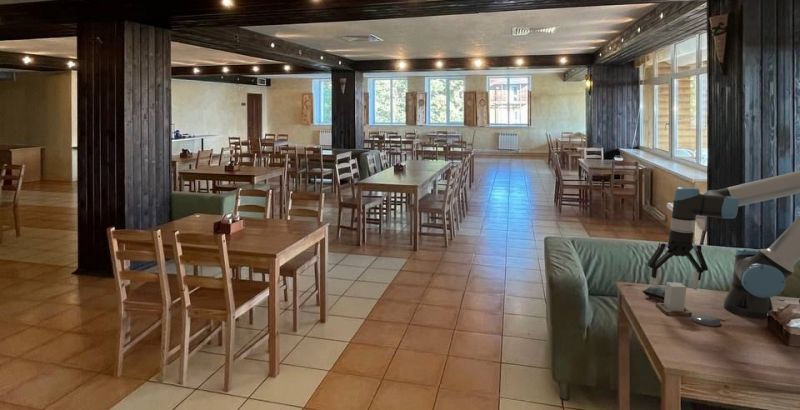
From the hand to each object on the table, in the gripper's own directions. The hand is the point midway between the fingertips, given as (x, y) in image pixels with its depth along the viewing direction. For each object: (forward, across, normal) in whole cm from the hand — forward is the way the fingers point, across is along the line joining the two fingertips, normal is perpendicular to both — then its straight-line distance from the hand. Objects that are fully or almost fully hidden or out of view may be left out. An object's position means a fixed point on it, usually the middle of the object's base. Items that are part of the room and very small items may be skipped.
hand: (674, 287), depth 193 cm
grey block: (+9, -1, 0) cm, 9 cm away
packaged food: (+9, -2, -13) cm, 16 cm away
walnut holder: (+9, -1, 0) cm, 9 cm away
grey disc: (+8, -8, +9) cm, 15 cm away
